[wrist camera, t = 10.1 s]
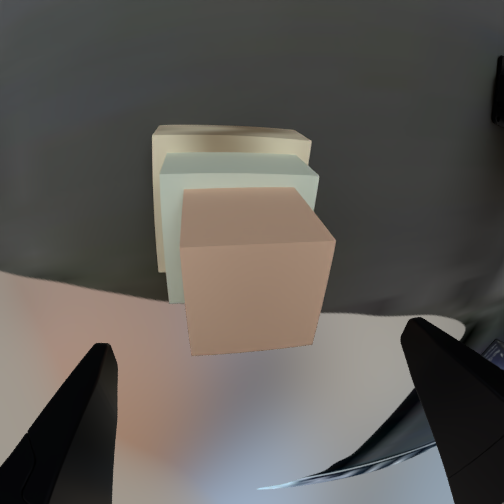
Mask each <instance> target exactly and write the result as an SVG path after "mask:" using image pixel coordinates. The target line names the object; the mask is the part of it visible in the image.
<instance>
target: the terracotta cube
mask: <svg viewBox="0 0 504 504" xmlns="http://www.w3.org/2000/svg"><path fill="white" fill-rule="evenodd" d="M335 244H336V240H335V239H334V237H333V236H332V235H331V233H330V232H329V231H328V230H327V228H326V227H325V226H324V224H323V223H322V222H321V220H320V219H319V218H318V217H317V215H316V214H315V213H314V211H313V210H312V209H311V208H310V206H309V205H308V204H307V203H306V201H305V200H304V199H303V198H302V196H301V195H300V194H299V193H298V191H297V190H296V189H295V188H294V187H245V188H207V189H184V193H183V205H182V218H181V233H180V258H181V270H182V280H183V290H184V299H185V307H186V317H187V324H188V333H189V341H190V348H191V355H192V356H200V355H216V354H230V353H242V352H253V351H263V350H273V349H281V348H290V347H298V346H306V345H312V344H313V339H314V336H315V332H316V328H317V324H318V320H319V316H320V312H321V308H322V303H323V299H324V295H325V291H326V286H327V282H328V277H329V273H330V268H331V263H332V259H333V254H334V249H335Z"/></svg>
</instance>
